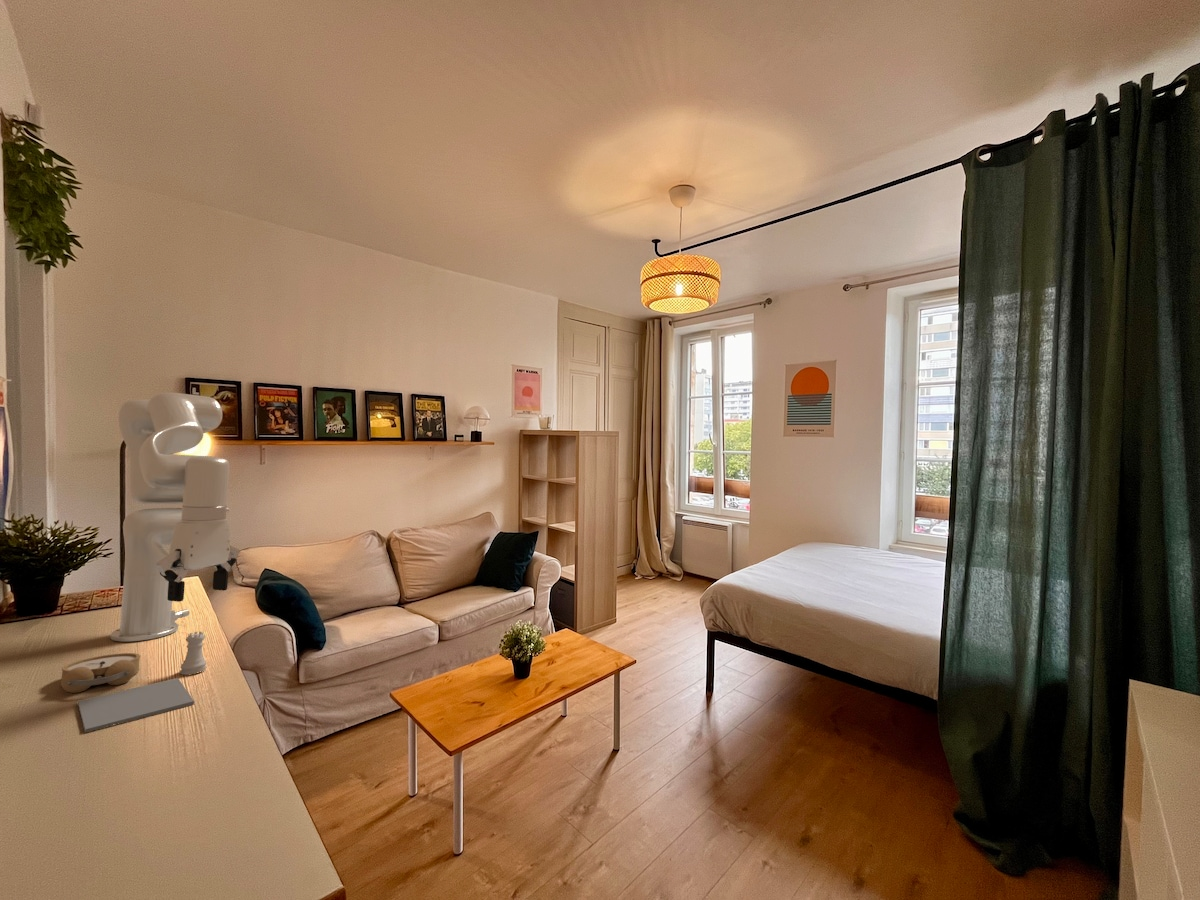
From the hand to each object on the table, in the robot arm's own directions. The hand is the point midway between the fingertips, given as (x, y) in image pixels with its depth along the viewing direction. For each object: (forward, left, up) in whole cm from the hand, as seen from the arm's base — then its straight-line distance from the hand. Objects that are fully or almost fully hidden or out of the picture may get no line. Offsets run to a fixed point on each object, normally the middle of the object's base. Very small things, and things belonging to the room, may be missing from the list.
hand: (198, 595), depth 105 cm
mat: (+14, +4, -16) cm, 22 cm away
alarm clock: (+8, -13, -17) cm, 22 cm away
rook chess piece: (0, 0, -16) cm, 16 cm away
